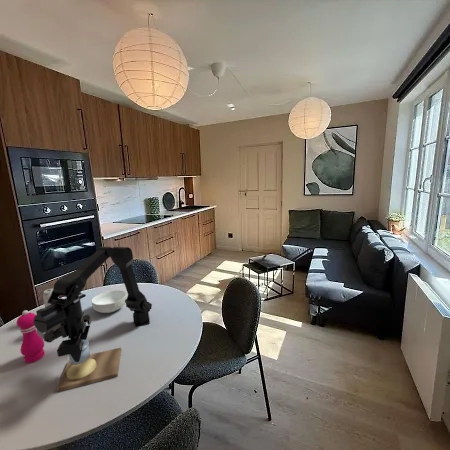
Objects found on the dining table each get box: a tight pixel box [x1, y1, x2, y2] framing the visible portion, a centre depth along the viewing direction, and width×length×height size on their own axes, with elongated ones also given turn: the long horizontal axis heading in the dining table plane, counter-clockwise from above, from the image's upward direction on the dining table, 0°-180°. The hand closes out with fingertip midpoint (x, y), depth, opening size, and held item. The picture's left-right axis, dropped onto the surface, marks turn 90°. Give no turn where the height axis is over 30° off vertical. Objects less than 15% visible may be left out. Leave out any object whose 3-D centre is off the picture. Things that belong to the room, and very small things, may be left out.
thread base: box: [56, 347, 122, 392], centre depth 89 cm, size 18×14×2 cm
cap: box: [68, 339, 90, 365], centre depth 86 cm, size 6×6×5 cm
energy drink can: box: [42, 287, 60, 308], centre depth 122 cm, size 6×6×15 cm
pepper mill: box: [16, 310, 46, 364], centre depth 94 cm, size 7×7×20 cm
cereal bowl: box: [91, 289, 128, 314], centre depth 130 cm, size 17×17×7 cm
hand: (79, 355), depth 86 cm, fingers closed on cap, 6 cm apart
